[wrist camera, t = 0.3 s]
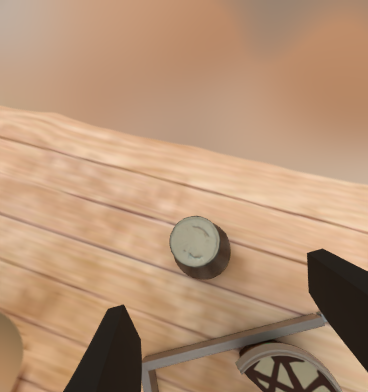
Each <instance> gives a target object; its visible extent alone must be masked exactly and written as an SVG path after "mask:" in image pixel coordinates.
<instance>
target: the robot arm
mask: <svg viewBox="0 0 368 392" xmlns="http://www.w3.org/2000/svg"><path fill="white" fill-rule="evenodd" d="M307 262H308V286H309V293H310V295H311V297H312V298H313V300H314V301H315V303H316V305H317V306H318V308H319V310H320V311H321V313H322V314H323V316H324V317H325V319H326V320H327V321H328V323H329V324H330V325H331V326H332V328H333V329H334V330H335V332H336V333H337V334H338V335H339V337H340V338H341V339H342V340H343V342H344V343H345V344H346V345H347V347H348V348H349V349H350V351H351V352H352V353H353V354H354V356H355V357H356V358H357V359H358V361H359V362H360V363H361V364H362V366H363V367H364V368H365V369H366V371H367V372H368V271H366V270H364V269H362V268H360V267H358V266H356V265H354V264H352V263H350V262H348V261H346V260H344V259H342V258H340V257H338V256H336V255H334V254H332V253H330V252H328V251H326V250H324V249H319V250H316V251H312V252H309V253H307ZM141 380H142V354H141V339H140V337H139V335H138V333H137V331H136V329H135V327H134V325H133V322H132V320H131V318H130V316H129V314H128V312H127V310H126V308H125V306H124V305H120V306H117V307H113V308H110V309H108V310H107V312H106V314H105V316H104V318H103V319H102V321H101V323H100V325H99V327H98V329H97V331H96V333H95V335H94V337H93V339H92V341H91V343H90V345H89V347H88V349H87V350H86V352H85V354H84V356H83V358H82V360H81V361H80V363H79V365H78V367H77V369H76V371H75V372H74V374H73V376H72V378H71V379H70V381H69V383H68V384H67V386H66V388H65V389H64V391H63V392H141Z"/></svg>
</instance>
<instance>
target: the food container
mask: <svg viewBox="0 0 368 392" xmlns="http://www.w3.org/2000/svg"><path fill="white" fill-rule="evenodd" d="M239 354H240V358H239V360H238V361H237V362H236V365H237V367H238V369H239V371H240V372H241V374H243V373H245V374H246V375H247V376H248V378H249V379H251V380H252V381H253V382H254V383H255V384H256V385H257V386H258V387H259V388H260V389H261V390H262V391H263V392H342V390H341V388H340V387H339V385H338V383H337V381H336V380H335V378H334V377H333V375H332V374H331V373H330V371H329V370H328V369H327V368H326V367H325V366H324V365H323V364H322V363H321V362H320V361H319V360H318V359H317V358H315V357H314V356H313V355H311V354H310V353H308V352H306V351H304V350H303V349H300V348H298V347H295V346H293V345H288V344H284V343H281V342H278V341H276V340H267V341H263V342H259V343H255V344H251V345H247V346H245V347H244V348H243V349H242V350H241V351H240V352H239Z"/></svg>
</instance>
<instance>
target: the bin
mask: <svg viewBox="0 0 368 392" xmlns="http://www.w3.org/2000/svg"><path fill="white" fill-rule="evenodd" d="M321 326H325V324H324V321H323V319H322V317H321V316H318V315H315V314H309V315H305V316H301V317H298V318H294V319H290V320H286V321H282V322H278V323H274V324H270V325H267V326H263V327H259V328H255V329H251V330H247V331H243V332H240V333H236V334H232V335H228V336H224V337H220V338H216V339H212V340H209V341H205V342H201V343H197V344H193V345H189V346H185V347H181V348H178V349H174V350H170V351H166V352H162V353H158V354H154V355H151V356H147V357H145V358H144V359H143V360H142V385H143V391H144V392H159V391H158V385H157V380H156V374H155V369H158V368H162V367H165V366H169V365H173V364H177V363H181V362H185V361H189V360H193V359H197V358H201V357H204V356H208V355H212V354H216V353H220V352H224V351H228V350H232V349H236V348H240V347H243V346H247V345H251V344H255V343H259V342H263V341H267V340H271V339H275V338H279V337H282V336H286V335H290V334H294V333H298V332H302V331H306V330H310V329H314V328H318V327H321Z"/></svg>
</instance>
